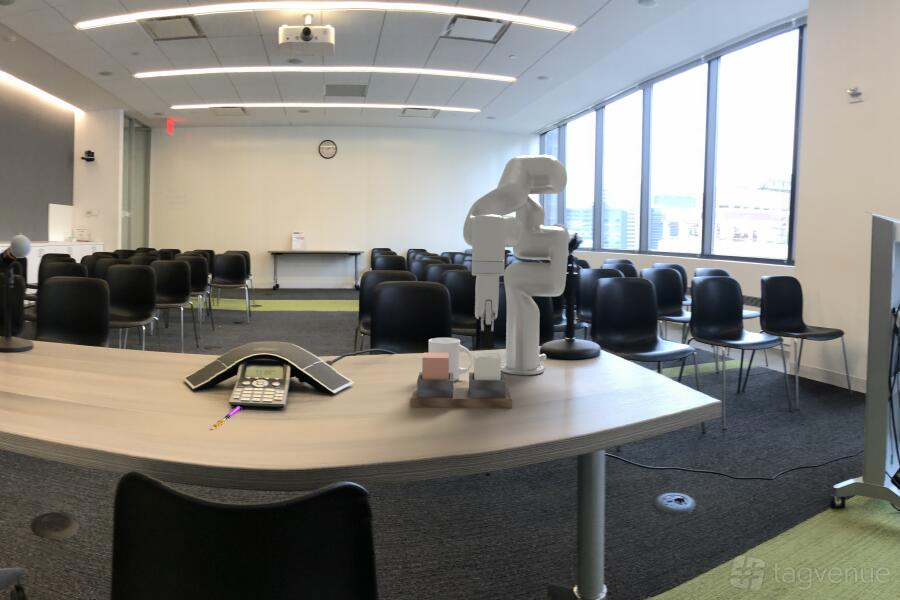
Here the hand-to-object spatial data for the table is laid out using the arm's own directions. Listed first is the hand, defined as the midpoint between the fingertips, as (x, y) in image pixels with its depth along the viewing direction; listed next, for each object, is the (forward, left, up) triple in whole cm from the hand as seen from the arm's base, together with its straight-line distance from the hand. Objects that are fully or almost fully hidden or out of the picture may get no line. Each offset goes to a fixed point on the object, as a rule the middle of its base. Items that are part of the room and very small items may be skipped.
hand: (486, 347), depth 133 cm
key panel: (+4, -5, -13) cm, 14 cm away
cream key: (0, 0, -8) cm, 8 cm away
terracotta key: (+8, -9, -8) cm, 14 cm away
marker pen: (+47, -31, -14) cm, 58 cm away
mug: (-10, -22, -13) cm, 27 cm away
